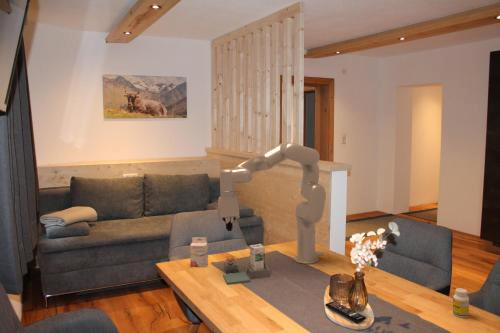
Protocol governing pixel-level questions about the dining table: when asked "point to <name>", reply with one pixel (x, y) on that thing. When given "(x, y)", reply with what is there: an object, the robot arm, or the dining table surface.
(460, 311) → the supplement bottle
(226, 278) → the mat
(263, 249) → the syrup box
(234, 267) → the plunger housing
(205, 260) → the ink cartridge box
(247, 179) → the robot arm
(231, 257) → the plunger
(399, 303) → the dining table surface
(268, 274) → the frame
